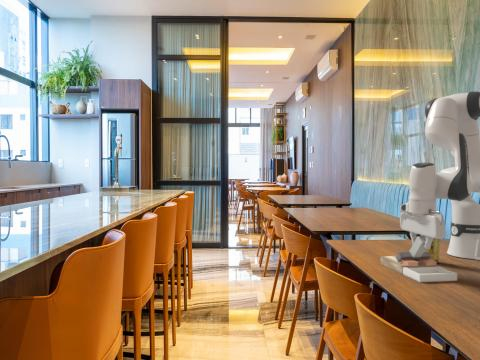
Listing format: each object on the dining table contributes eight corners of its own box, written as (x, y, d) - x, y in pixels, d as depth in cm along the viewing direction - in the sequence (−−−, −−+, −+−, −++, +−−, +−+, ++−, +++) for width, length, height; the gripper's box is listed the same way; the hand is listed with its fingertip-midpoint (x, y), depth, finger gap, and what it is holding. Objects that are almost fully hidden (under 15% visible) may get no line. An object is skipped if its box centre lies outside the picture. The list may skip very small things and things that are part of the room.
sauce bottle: (418, 261, 147) (419, 212, 146) (428, 259, 149) (430, 212, 149) (432, 265, 141) (433, 214, 140) (443, 263, 143) (444, 214, 143)
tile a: (428, 262, 132) (428, 258, 132) (436, 265, 128) (436, 261, 128) (418, 263, 132) (419, 259, 132) (426, 265, 128) (426, 261, 128)
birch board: (412, 262, 144) (412, 255, 144) (437, 272, 130) (437, 264, 130) (380, 263, 142) (380, 256, 142) (401, 274, 128) (402, 265, 128)
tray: (438, 273, 130) (438, 266, 130) (457, 280, 121) (457, 273, 121) (402, 274, 127) (403, 267, 127) (419, 282, 118) (419, 274, 118)
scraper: (424, 256, 135) (437, 235, 129) (428, 262, 133) (441, 242, 126) (394, 256, 133) (406, 236, 127) (398, 263, 131) (410, 242, 124)
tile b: (411, 263, 131) (411, 259, 131) (418, 266, 127) (418, 262, 127) (401, 263, 131) (401, 259, 131) (407, 266, 127) (407, 262, 127)
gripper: (451, 211, 118) (450, 253, 118) (412, 205, 138) (411, 241, 139) (434, 211, 117) (432, 253, 117) (397, 205, 137) (396, 241, 138)
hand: (420, 246), depth 128 cm, fingers closed on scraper, 5 cm apart
